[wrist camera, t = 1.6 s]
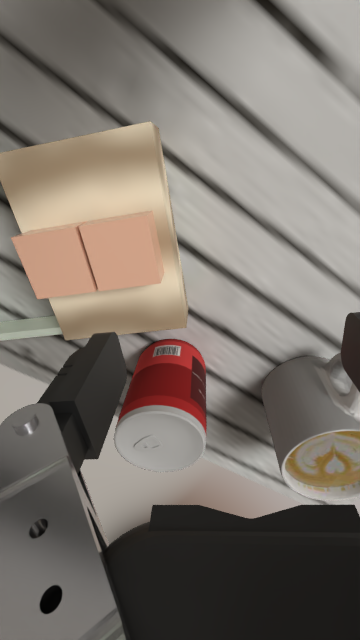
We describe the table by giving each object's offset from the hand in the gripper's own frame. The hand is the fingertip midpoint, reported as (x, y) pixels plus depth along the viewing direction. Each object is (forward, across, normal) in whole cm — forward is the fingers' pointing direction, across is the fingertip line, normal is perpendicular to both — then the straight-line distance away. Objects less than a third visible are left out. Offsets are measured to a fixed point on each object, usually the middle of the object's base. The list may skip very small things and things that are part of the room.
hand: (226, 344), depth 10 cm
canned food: (+18, +6, +14) cm, 24 cm away
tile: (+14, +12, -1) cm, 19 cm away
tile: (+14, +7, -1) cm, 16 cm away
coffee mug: (+19, -10, +18) cm, 28 cm away
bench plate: (+18, +9, -1) cm, 20 cm away
